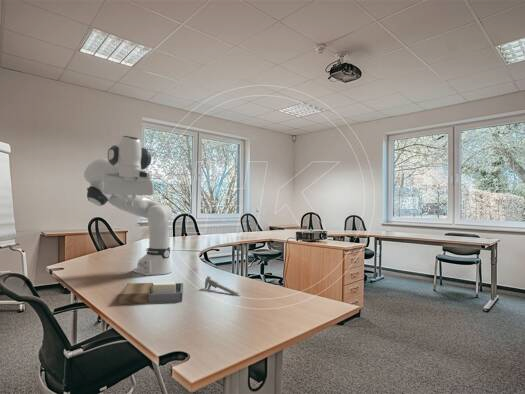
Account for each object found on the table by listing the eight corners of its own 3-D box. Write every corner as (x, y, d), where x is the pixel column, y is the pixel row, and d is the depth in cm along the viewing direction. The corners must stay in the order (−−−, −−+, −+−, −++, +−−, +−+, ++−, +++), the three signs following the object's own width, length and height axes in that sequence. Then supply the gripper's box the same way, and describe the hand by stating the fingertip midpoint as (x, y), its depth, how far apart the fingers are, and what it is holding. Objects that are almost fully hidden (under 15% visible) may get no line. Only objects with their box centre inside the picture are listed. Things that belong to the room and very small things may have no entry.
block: (153, 284, 134) (175, 284, 136) (154, 281, 139) (175, 281, 141) (152, 296, 134) (174, 295, 136) (154, 293, 139) (175, 292, 141)
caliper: (204, 288, 152) (205, 275, 152) (206, 288, 153) (206, 275, 153) (239, 296, 141) (239, 282, 141) (240, 296, 142) (240, 282, 142)
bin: (148, 302, 129) (149, 294, 129) (153, 291, 144) (153, 283, 144) (181, 301, 131) (182, 293, 131) (183, 290, 147) (183, 283, 147)
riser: (119, 304, 126) (119, 294, 126) (127, 292, 142) (127, 283, 142) (148, 302, 128) (148, 293, 128) (153, 291, 144) (153, 282, 144)
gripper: (101, 171, 131) (100, 205, 131) (153, 174, 135) (152, 206, 135) (105, 173, 137) (104, 204, 137) (155, 175, 142) (154, 205, 141)
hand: (128, 205), depth 136 cm, fingers closed
